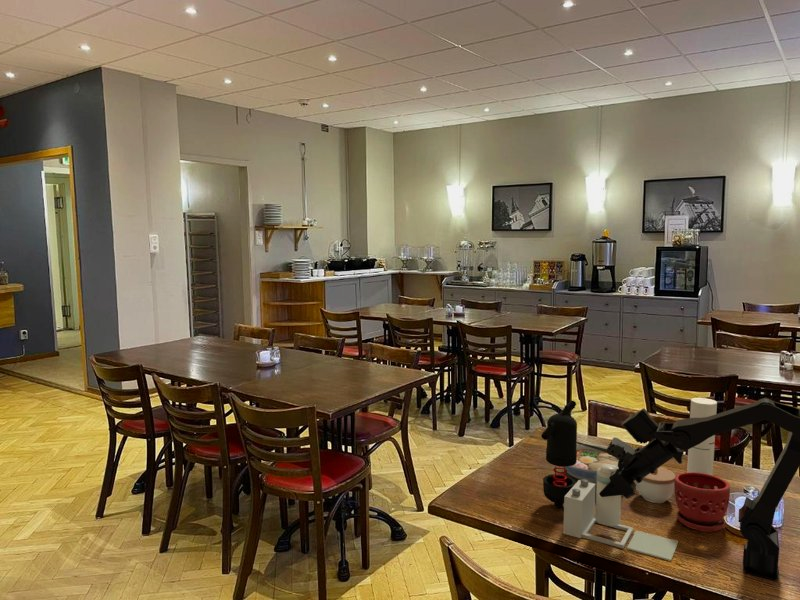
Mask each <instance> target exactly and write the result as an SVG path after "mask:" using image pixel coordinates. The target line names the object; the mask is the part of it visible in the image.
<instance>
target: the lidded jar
mask: <svg viewBox="0 0 800 600" xmlns="http://www.w3.org/2000/svg"><path fill="white" fill-rule="evenodd" d="M676 475H677V474H676V473H674V472H673V471H672V470H670V469H668V468H666V467H661V466H660V467H659V468H657V469H656V471H655V473H653V474H651V473H650V474H648V475H647V476H645V477H644V478H643V480H642V481H641V482H640V483H638V482H637V481H636V480H635V484H636V490H638V491H637V492H638V493H639V494H640V495H641V496H642V498H643V500H645V501H646V502H649V503H653V504H663V503H665V502H666V501H668V500H669V499H670V498H671V497H672V495H674V492H675V491H674V483H675V476H676Z"/></svg>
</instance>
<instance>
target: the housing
mask: <svg viewBox="0 0 800 600" xmlns="http://www.w3.org/2000/svg"><path fill="white" fill-rule="evenodd" d="M596 488H597V484H594V483H590V482H588V480H585V479H582V480H579V479H577V481H576V484H575V485H574V486H573V487H572V488H571V490H570V491H569V492H568V493H567V494H566V495H565V496H564V504H563V535H568V536H571V537H575V538H577V539H581V538H584V539H587V540H591V541H595V542H597V543H602V544H605V545H608V546H613V547H616V548H620V549H623V550H624V549H625V547H626V545H627V544H628V542H629V540H630V537H631V536H632V535H633V533H634V528H635V527H631V526H629V525H624V524H621V523H620V524H618V525H615V526H608V525H605V526H606V527H611V528H615V529H619V530H621V531H622V530H623V531H626V532H625V534H624V536H623V538H622V540H621V541H620V542H619V541H615V540H612V539H609V538H604V537H600V536H598V535H594V534H591V533H589V532H590V531H591V530H592V528H593V527H594V525H595V524H599V525H602V524H601V523H599V522H597V521H596V517H595V516H596Z"/></svg>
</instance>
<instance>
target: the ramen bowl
mask: <svg viewBox="0 0 800 600" xmlns="http://www.w3.org/2000/svg"><path fill="white" fill-rule="evenodd" d="M607 448H608V446H606V445H601V444H597V443H596V444H595V443H593V444H592V443H583V442H580V441H577V447H576V451H577V462H576V464H574V465H573V466H565V469H566V470H567V472H566V473H567V474H568V475H570V476H571V477H574V478H575V479H577V480H582V479H585V480H588V482H590V483H594V484H596V485H597V479H596V477H597V469H598V468H600V467H601V465H604V464H610V465H615V466H617V467H618V461H619V460H618V459H617V458H615V457H613V456H612V455H609V454H607V453H606V449H607ZM562 468H564V467H562Z"/></svg>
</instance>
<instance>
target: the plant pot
mask: <svg viewBox="0 0 800 600" xmlns="http://www.w3.org/2000/svg"><path fill="white" fill-rule="evenodd" d="M675 475H676V476H675V483H674V491H673V492H674V498H675V503H676V506H677V508H678V510H677V512H676V517H677V519H678V521H679V522H680V523H681V524H683V525H684V526H686V527H688V528H691V529H693V530H695V531H696V530H697V531H701V532H711V533H714V532H716V531H720V530H721V529H723V528H724V527H725V526H726V523H727V522H726V519H725V518H724V517H725V515H726V513H727V511H728V509H729V508H728V507H729V503H730V495H731V494H730V493H731V486H730V484H729V482H728V481H727V480H725V479H723V478H721V477H719V476H716V475H709V474H704V473H696V472H687V471H686V472H681V473H679V474H675ZM694 484H697V486H694ZM705 486H707V487H709V489H708V488H704V487H705ZM715 487H716V488H715Z"/></svg>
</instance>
